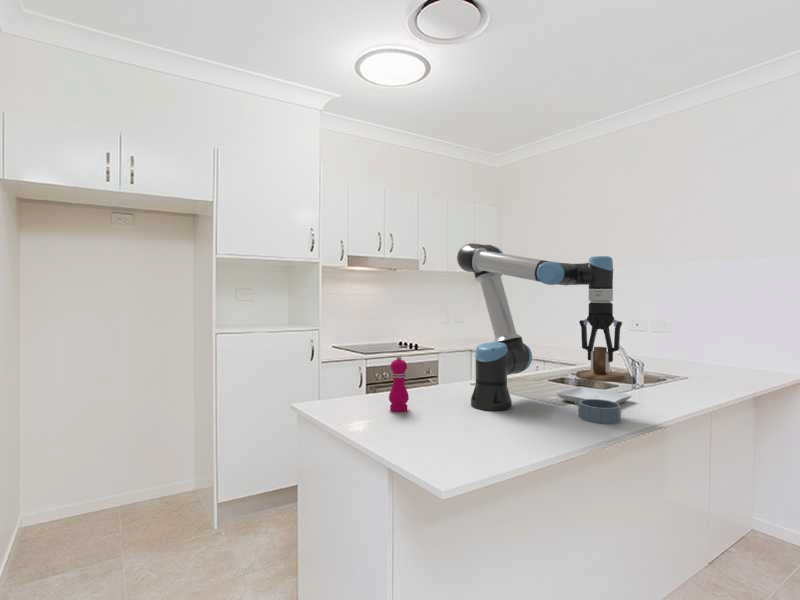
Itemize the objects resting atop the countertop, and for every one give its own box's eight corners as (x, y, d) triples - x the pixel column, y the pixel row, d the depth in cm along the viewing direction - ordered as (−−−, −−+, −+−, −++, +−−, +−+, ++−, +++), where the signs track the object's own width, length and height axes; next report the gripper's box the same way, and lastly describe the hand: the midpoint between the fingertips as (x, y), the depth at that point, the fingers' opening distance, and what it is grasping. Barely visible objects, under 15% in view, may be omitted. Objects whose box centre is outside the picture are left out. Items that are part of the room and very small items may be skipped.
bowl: (574, 419, 154) (574, 404, 153) (584, 411, 164) (584, 397, 164) (616, 426, 146) (616, 410, 146) (623, 417, 157) (623, 402, 157)
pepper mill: (396, 406, 171) (396, 353, 170) (412, 409, 167) (412, 354, 166) (384, 410, 165) (384, 355, 165) (401, 413, 161) (401, 357, 160)
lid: (571, 378, 153) (571, 348, 153) (582, 371, 165) (582, 343, 165) (619, 383, 144) (620, 351, 144) (628, 376, 156) (628, 346, 156)
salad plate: (632, 402, 178) (632, 394, 178) (610, 412, 164) (610, 403, 164) (580, 393, 194) (580, 385, 194) (555, 402, 179) (555, 393, 179)
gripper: (571, 302, 156) (571, 369, 157) (626, 302, 146) (625, 375, 147) (577, 301, 162) (577, 366, 163) (630, 302, 152) (629, 371, 153)
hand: (600, 370), depth 155 cm, fingers closed on lid, 4 cm apart
